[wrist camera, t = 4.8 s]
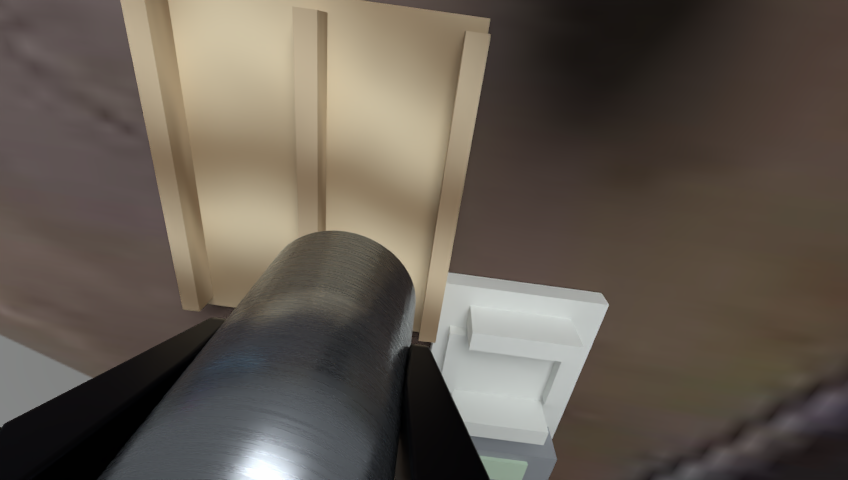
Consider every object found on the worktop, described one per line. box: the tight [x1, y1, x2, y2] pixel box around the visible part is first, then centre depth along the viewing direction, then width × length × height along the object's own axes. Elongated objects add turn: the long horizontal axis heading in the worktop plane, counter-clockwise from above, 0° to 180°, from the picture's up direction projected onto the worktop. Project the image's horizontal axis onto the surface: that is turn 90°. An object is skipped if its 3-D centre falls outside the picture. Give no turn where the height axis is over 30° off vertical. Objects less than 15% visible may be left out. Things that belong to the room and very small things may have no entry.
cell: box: [97, 230, 416, 480], centre depth 7 cm, size 4×4×8 cm
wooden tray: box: [120, 0, 491, 343], centre depth 16 cm, size 14×12×2 cm
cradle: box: [430, 272, 609, 480], centre depth 21 cm, size 12×8×3 cm, turn 173°
